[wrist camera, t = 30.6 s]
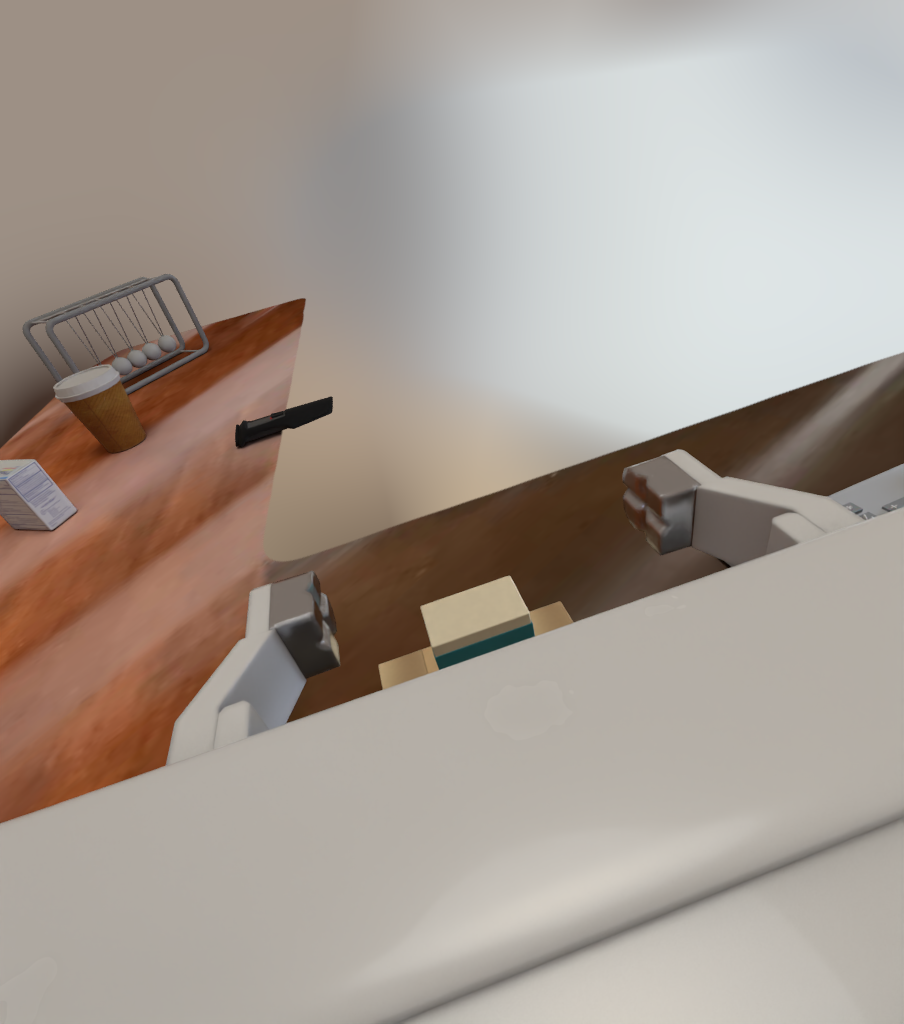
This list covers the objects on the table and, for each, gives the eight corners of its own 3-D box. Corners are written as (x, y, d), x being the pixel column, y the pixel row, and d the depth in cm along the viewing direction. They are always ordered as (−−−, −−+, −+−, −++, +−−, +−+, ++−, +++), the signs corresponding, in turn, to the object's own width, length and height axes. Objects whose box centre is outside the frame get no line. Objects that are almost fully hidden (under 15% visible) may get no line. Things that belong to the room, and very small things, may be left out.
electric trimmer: (339, 420, 78) (332, 400, 76) (236, 450, 77) (226, 431, 75) (338, 410, 81) (331, 391, 79) (239, 439, 80) (229, 420, 78)
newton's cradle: (186, 349, 131) (147, 274, 120) (213, 349, 126) (174, 270, 115) (74, 407, 112) (15, 324, 101) (100, 410, 106) (41, 323, 96)
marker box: (468, 747, 33) (431, 648, 28) (455, 704, 36) (418, 605, 30) (550, 717, 34) (531, 613, 28) (531, 676, 37) (510, 573, 31)
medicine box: (79, 511, 72) (36, 457, 67) (51, 532, 69) (4, 478, 64) (41, 510, 75) (-3, 459, 70) (13, 530, 72) (-35, 478, 67)
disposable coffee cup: (123, 431, 94) (81, 367, 86) (167, 426, 91) (127, 360, 84) (85, 460, 86) (35, 394, 79) (131, 456, 84) (84, 386, 77)
